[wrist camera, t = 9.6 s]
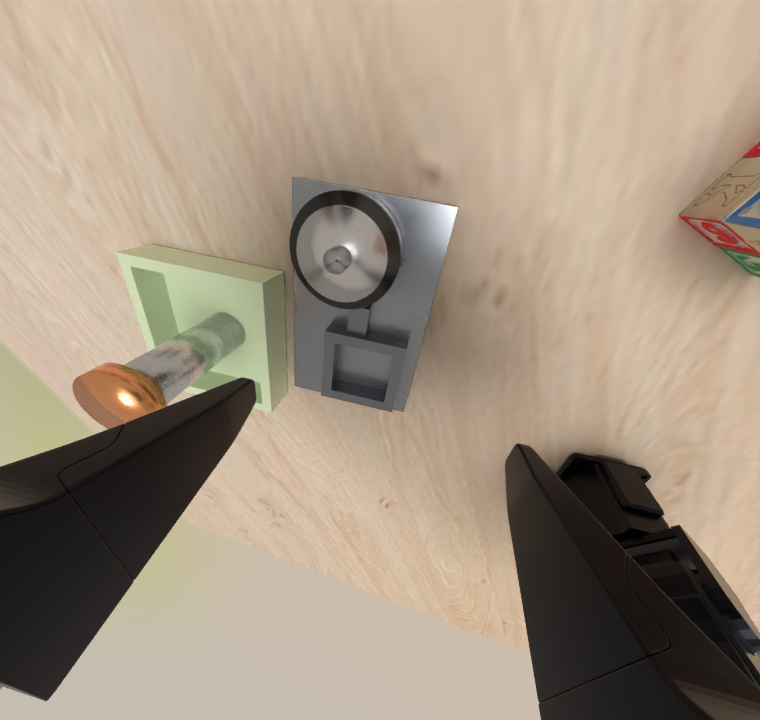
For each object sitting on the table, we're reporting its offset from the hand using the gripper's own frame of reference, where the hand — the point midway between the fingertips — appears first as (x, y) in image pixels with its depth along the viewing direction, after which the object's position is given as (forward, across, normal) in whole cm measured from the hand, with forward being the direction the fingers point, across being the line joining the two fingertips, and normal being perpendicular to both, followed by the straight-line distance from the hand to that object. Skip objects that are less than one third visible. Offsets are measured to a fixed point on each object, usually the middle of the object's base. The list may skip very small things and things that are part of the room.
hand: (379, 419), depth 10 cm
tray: (+13, +15, +6) cm, 21 cm away
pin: (+12, +15, +6) cm, 20 cm away
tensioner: (+13, +4, +2) cm, 14 cm away
